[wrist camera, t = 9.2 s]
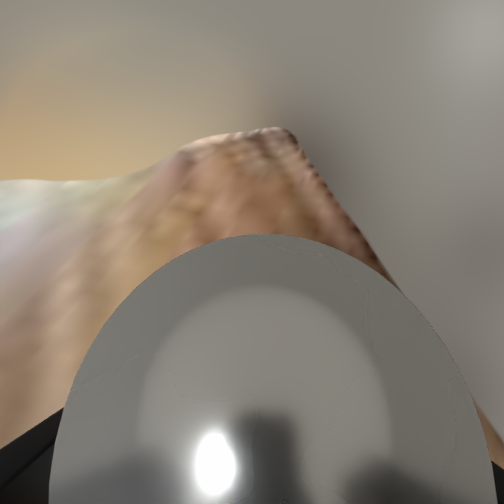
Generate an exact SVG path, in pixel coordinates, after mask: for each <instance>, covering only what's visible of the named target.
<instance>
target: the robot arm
mask: <svg viewBox="0 0 504 504" xmlns="http://www.w3.org/2000/svg"><path fill="white" fill-rule="evenodd" d="M63 409H64V408H62V409H60V410H59V411H57V412H56V413H54V414H53V415H51V416H50V417H48V418H47V419H45V420H44V421H42V422H41V423H39V424H38V425H36V426H35V427H33V428H32V429H30V430H29V431H27V432H26V433H24V434H23V435H21V436H20V437H18V438H17V439H15V440H14V441H12V442H11V443H9V444H7V445H6V446H4V447H3V448H1V449H0V504H49V481H50V474H51V467H52V460H53V453H54V446H55V441H56V437H57V433H58V429H59V425H60V421H61V417H62V413H63ZM491 463H492V468H493V475H494V482H495V489H496V496H497V503H498V504H504V469H502V468H501V467H499V466H498V465H497V464H495V463H494V462H493V461H491Z"/></svg>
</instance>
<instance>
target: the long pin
mask: <svg viewBox="0 0 504 504" xmlns="http://www.w3.org/2000/svg"><path fill="white" fill-rule="evenodd" d="M49 504H498V503H497V496H496V489H495V482H494V475H493V468H492V463H491V459H490V455H489V451H488V447H487V443H486V439H485V435H484V431H483V428H482V425H481V422H480V419H479V416H478V413H477V411H476V408H475V405H474V402H473V399H472V397H471V395H470V393H469V390H468V388H467V386H466V384H465V382H464V379H463V377H462V375H461V373H460V371H459V369H458V367H457V365H456V364H455V362H454V360H453V359H452V357H451V355H450V353H449V352H448V350H447V348H446V346H445V345H444V343H443V342H442V340H441V339H440V338H439V336H438V335H437V333H436V332H435V330H434V329H433V328H432V326H431V325H430V323H429V322H428V321H427V320H426V319H425V317H424V316H423V315H422V314H421V313H420V312H419V310H418V309H417V308H416V307H415V306H414V304H412V302H411V301H410V300H408V298H407V297H406V296H404V295H403V294H402V293H401V292H400V291H399V290H398V289H397V288H396V287H395V286H394V285H393V284H391V283H390V282H389V281H388V280H387V279H385V278H384V277H383V276H382V275H380V274H379V273H378V272H376V271H375V270H373V269H372V268H370V267H369V266H367V265H366V264H364V263H363V262H361V261H360V260H358V259H356V258H354V257H352V256H350V255H348V254H346V253H344V252H342V251H340V250H338V249H335V248H333V247H330V246H328V245H325V244H323V243H319V242H316V241H312V240H309V239H305V238H300V237H294V236H288V235H278V234H250V235H242V236H235V237H229V238H225V239H221V240H218V241H214V242H210V243H208V244H205V245H203V246H200V247H198V248H195V249H192V250H190V251H188V252H186V253H185V254H183V255H181V256H179V257H177V258H175V259H173V260H172V261H170V262H169V263H167V264H166V265H164V266H163V267H161V268H160V269H158V270H157V271H155V272H154V273H153V274H152V275H150V276H149V277H148V278H147V279H146V280H144V281H143V282H142V283H141V284H140V285H139V286H137V287H136V288H135V289H134V290H133V292H132V293H131V294H130V295H129V296H128V297H127V298H126V299H125V300H124V301H123V302H122V303H121V304H120V305H119V306H118V308H117V309H116V310H115V312H114V313H113V314H112V315H111V317H110V318H109V319H108V321H107V322H106V323H105V324H104V326H103V327H102V329H101V331H100V332H99V334H98V335H97V337H96V339H95V340H94V342H93V344H92V345H91V347H90V348H89V350H88V352H87V354H86V356H85V358H84V360H83V362H82V364H81V366H80V368H79V371H78V373H77V375H76V377H75V379H74V382H73V385H72V387H71V390H70V393H69V396H68V398H67V401H66V404H65V406H64V409H63V413H62V417H61V421H60V425H59V429H58V433H57V437H56V441H55V446H54V453H53V460H52V467H51V474H50V481H49Z"/></svg>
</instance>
